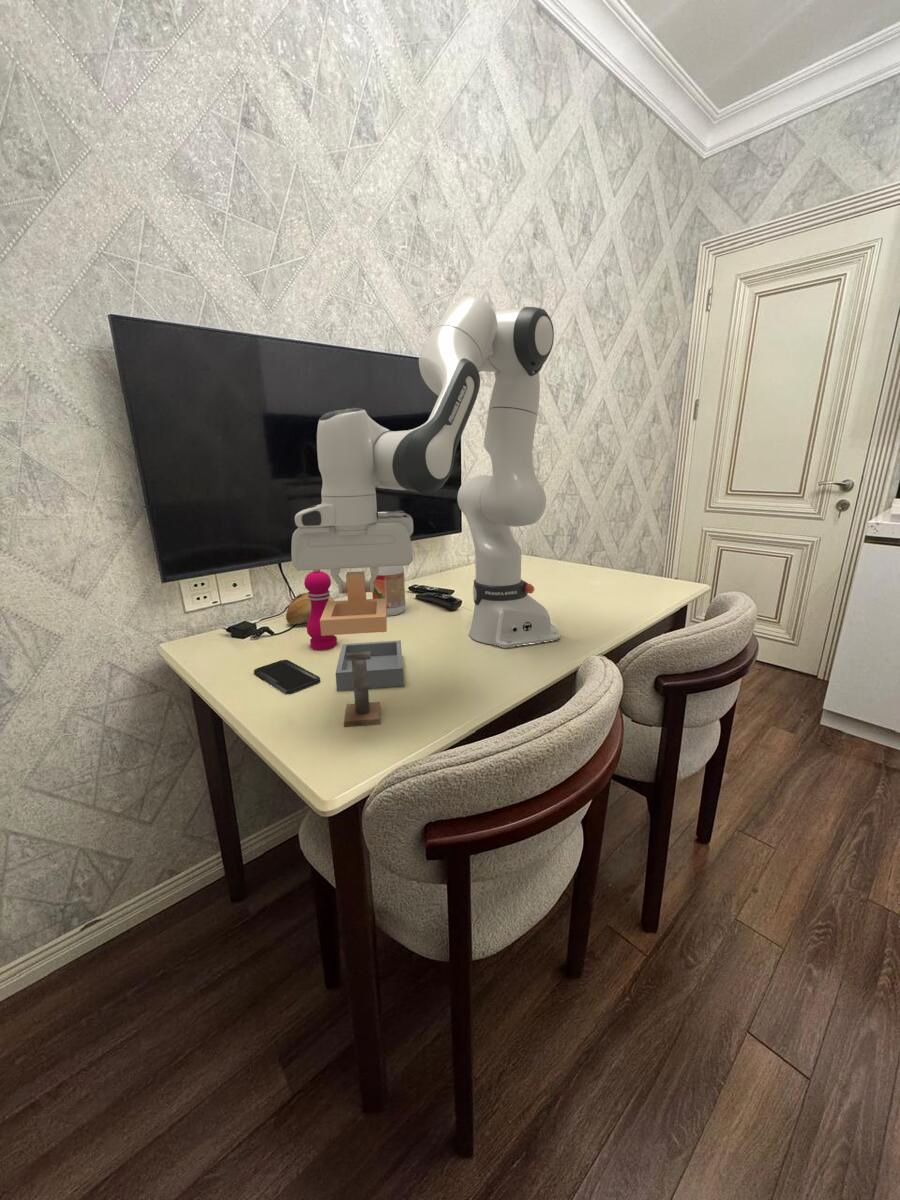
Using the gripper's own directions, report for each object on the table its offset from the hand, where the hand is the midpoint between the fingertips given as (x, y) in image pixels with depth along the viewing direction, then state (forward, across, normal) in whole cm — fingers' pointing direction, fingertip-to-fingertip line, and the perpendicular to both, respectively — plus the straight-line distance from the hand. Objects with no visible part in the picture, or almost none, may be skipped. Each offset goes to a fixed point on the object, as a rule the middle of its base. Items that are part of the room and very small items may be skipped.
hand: (356, 592), depth 83 cm
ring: (+4, 0, +5) cm, 6 cm away
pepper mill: (+21, +11, -29) cm, 38 cm away
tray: (+21, -1, -12) cm, 24 cm away
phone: (+22, +17, -12) cm, 30 cm away
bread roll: (+21, +16, -48) cm, 55 cm away
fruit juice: (+21, -5, -53) cm, 57 cm away
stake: (+21, 0, +6) cm, 22 cm away
